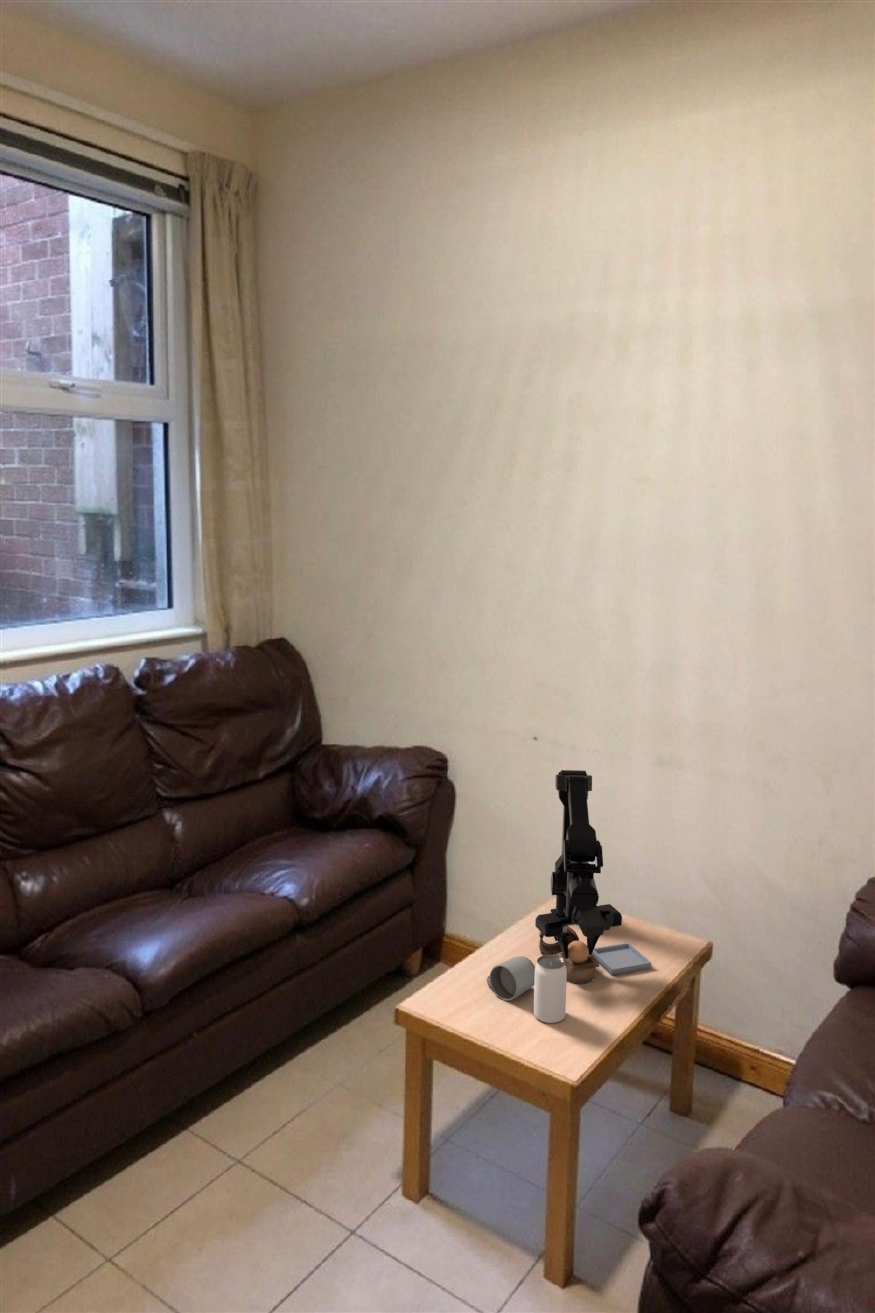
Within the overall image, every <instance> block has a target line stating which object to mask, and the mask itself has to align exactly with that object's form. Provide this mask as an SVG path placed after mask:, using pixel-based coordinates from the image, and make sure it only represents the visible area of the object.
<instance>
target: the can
mask: <svg viewBox="0 0 875 1313" xmlns="http://www.w3.org/2000/svg"><path fill="white" fill-rule="evenodd" d="M534 966H535V980H534V986H533V987H534V988H533V1014H534V1017H535V1018H536V1020H538V1021H539V1022H542V1023H544V1024H552V1025H553V1024H558V1023H560V1022H562V1021H563V1020H564V1019H565V1018H566V1010H567V1008H566V1006H567V1003H566V1002H567V981H566V980H567V969H566V966H565V961H564V960H563V959H562V958H561V957H558V956H556V954H553V955H549V954H545V955H541V956H539V957H538V958H537V960H536V963H535V965H534Z"/></svg>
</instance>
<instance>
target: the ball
mask: <svg viewBox="0 0 875 1313" xmlns="http://www.w3.org/2000/svg"><path fill="white" fill-rule="evenodd" d="M588 955H589V950H588V947H587V943H585V942H583V941H581V940H579V941H573V942H571V943H570V944H569V945H568V957H569V959H570V960H571V961H572V962H574V963H582V962H584V961H585V960H586V959H587V958H588Z"/></svg>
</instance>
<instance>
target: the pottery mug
mask: <svg viewBox="0 0 875 1313" xmlns="http://www.w3.org/2000/svg"><path fill="white" fill-rule="evenodd" d="M567 932H568V933H569V934H570V937H569V938H568V946H569V944H570V943H571V942H573V941H580V938H579V936H578V933H577V932H576V931H575V930H574V929H573V928H572V927H570V926H567ZM544 937H545V936H544V935H543V934H542V933H541V932H540V931H539V938H540V939H539V944H538V948H539V952H540V954H542V955H543V954H545V955H556V954H557V953H562V951H561V948H560V945H559V943H558V940H557V938H556V936H554V937H553V938H554V941H555V942H554V943H547V942H546V941H544V939H543V938H544Z"/></svg>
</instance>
